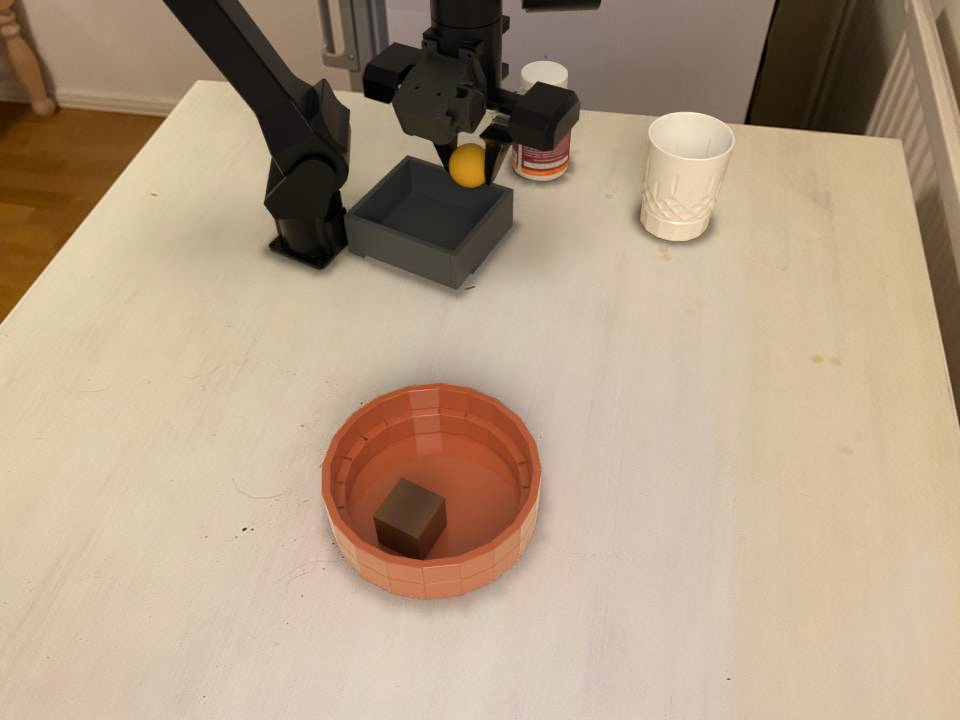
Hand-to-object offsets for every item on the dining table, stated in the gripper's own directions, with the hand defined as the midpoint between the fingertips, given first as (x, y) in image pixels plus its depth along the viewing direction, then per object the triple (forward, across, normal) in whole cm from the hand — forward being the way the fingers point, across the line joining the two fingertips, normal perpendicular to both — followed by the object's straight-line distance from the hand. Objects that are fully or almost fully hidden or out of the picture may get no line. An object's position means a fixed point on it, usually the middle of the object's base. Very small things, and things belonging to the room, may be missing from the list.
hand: (470, 176), depth 76 cm
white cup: (+7, +17, +11) cm, 22 cm away
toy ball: (+1, 0, 0) cm, 1 cm away
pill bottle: (+7, +1, +14) cm, 15 cm away
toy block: (+6, +13, -32) cm, 35 cm away
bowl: (+7, +13, -28) cm, 32 cm away
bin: (+7, -3, -2) cm, 8 cm away
